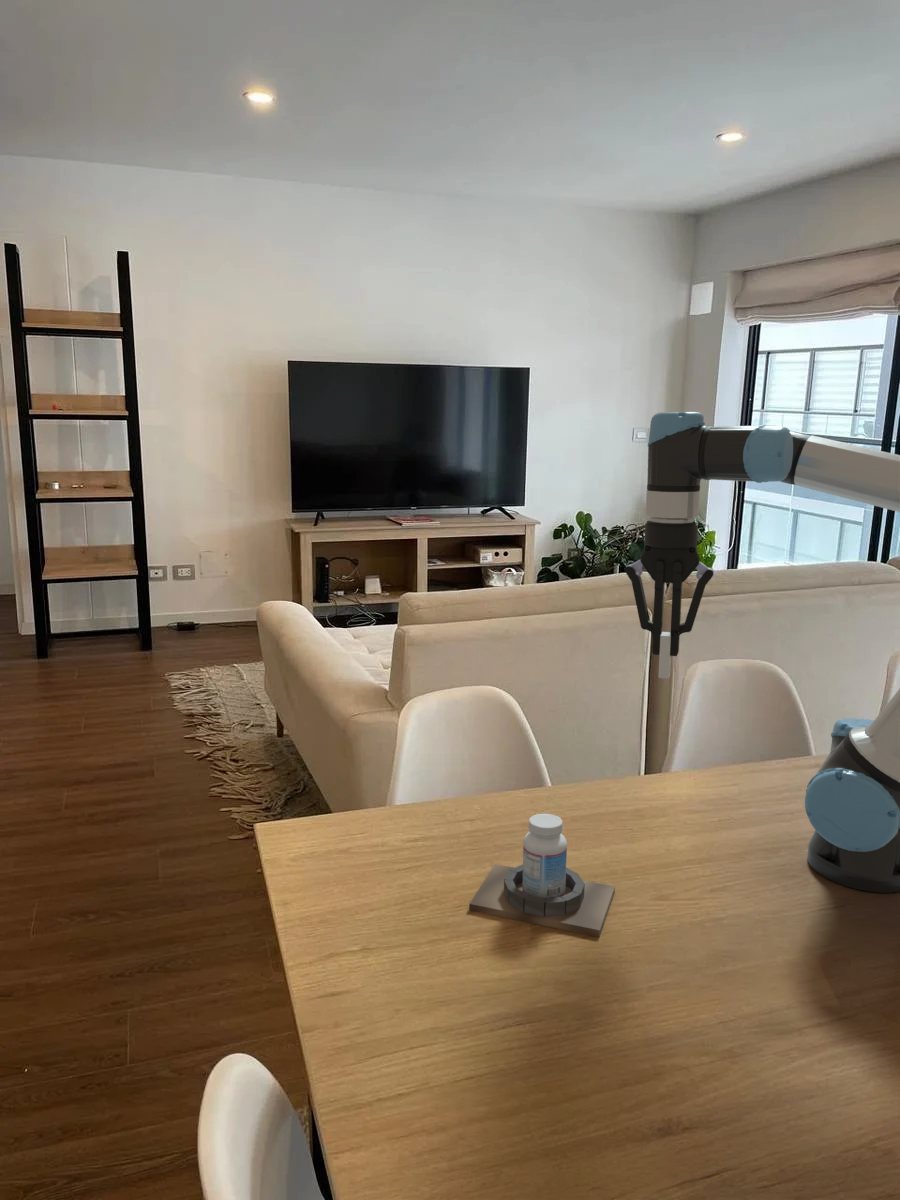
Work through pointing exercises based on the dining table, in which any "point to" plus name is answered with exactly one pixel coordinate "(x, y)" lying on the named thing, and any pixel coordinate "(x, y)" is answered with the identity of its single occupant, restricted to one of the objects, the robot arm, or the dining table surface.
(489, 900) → the holder
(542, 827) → the pill bottle
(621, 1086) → the dining table surface
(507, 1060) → the dining table surface
